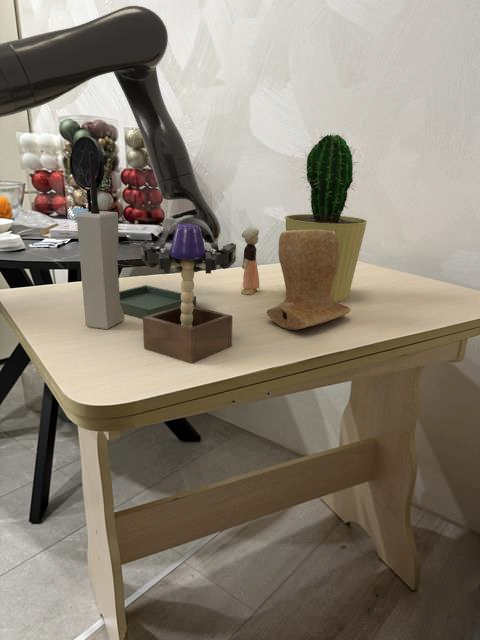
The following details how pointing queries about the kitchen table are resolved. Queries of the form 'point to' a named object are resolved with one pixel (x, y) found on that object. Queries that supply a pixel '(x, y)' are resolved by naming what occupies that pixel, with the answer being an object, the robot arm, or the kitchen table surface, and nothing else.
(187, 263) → the toy lamp
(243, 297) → the kitchen table surface
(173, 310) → the brown wooden box
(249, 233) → the grandmother figurine
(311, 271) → the brown flared block
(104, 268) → the utensil holder
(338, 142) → the potted cactus
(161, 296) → the tray
